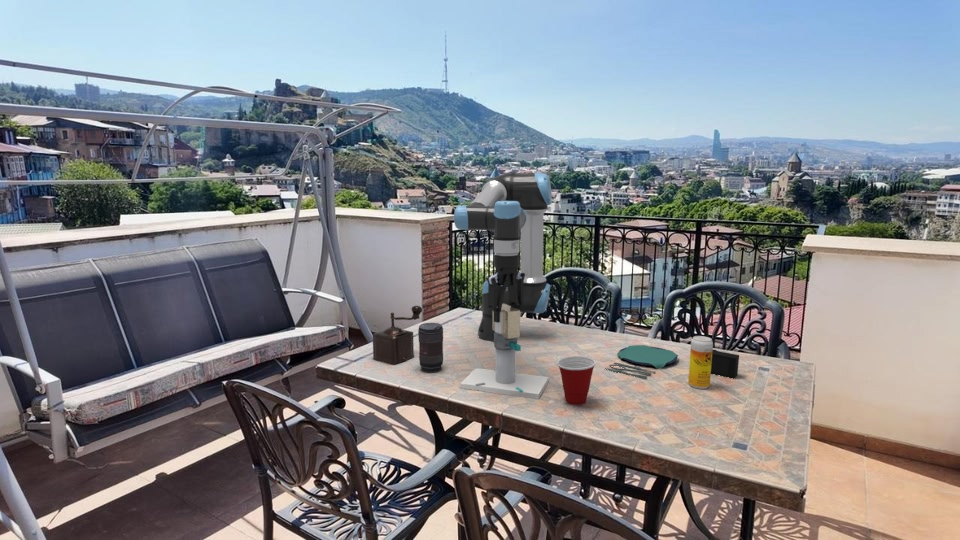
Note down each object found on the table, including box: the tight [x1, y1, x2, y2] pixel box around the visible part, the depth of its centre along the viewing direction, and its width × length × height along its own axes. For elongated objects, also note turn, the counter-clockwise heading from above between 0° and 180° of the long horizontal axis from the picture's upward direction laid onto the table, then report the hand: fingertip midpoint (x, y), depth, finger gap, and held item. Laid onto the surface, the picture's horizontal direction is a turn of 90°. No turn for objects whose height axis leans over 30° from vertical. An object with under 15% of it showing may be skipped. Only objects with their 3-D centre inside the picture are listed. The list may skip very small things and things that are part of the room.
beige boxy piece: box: [492, 304, 522, 352], centre depth 156 cm, size 13×7×12 cm, turn 25°
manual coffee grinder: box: [372, 305, 423, 366], centre depth 184 cm, size 16×11×18 cm
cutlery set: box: [604, 344, 679, 380], centre depth 180 cm, size 20×30×2 cm, turn 139°
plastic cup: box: [556, 355, 597, 406], centre depth 147 cm, size 11×11×12 cm
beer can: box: [687, 335, 714, 390], centre depth 158 cm, size 6×6×15 cm
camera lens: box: [417, 322, 444, 373], centre depth 172 cm, size 8×8×15 cm
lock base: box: [459, 348, 550, 400], centre depth 159 cm, size 14×24×12 cm, turn 71°
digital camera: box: [711, 349, 740, 380], centre depth 170 cm, size 10×5×7 cm, turn 51°
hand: (505, 330), depth 157 cm, fingers closed on beige boxy piece, 5 cm apart
